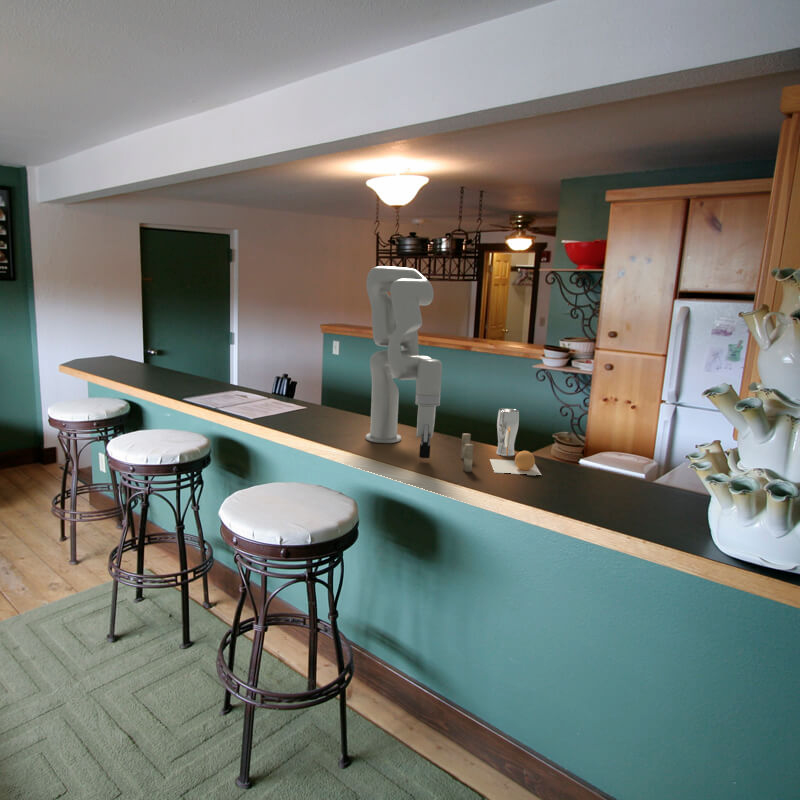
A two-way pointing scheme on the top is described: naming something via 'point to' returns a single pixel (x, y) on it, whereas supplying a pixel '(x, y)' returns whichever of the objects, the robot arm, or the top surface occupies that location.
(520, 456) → the ball
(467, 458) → the front post
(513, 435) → the beer glass
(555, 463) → the top surface
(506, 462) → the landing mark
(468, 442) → the back post
